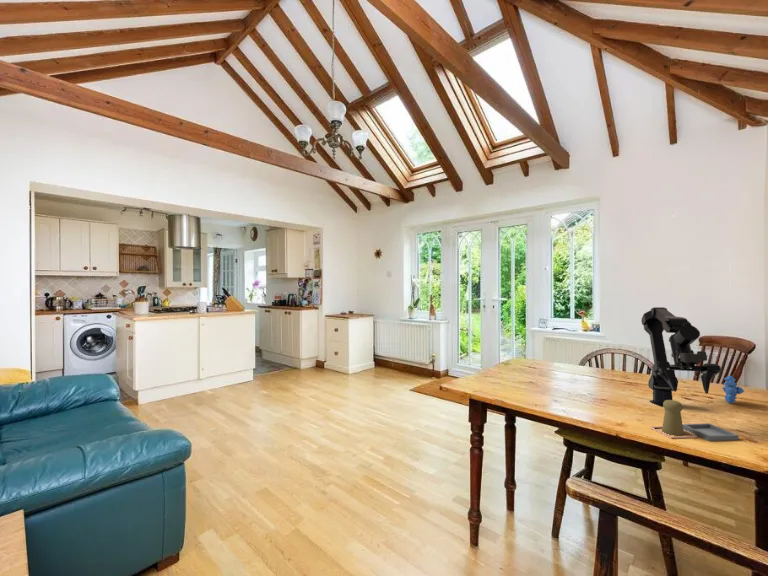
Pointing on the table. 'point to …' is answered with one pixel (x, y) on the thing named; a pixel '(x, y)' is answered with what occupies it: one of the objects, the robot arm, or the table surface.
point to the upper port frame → (674, 436)
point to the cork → (672, 418)
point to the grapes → (731, 389)
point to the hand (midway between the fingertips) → (690, 392)
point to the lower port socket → (710, 432)
